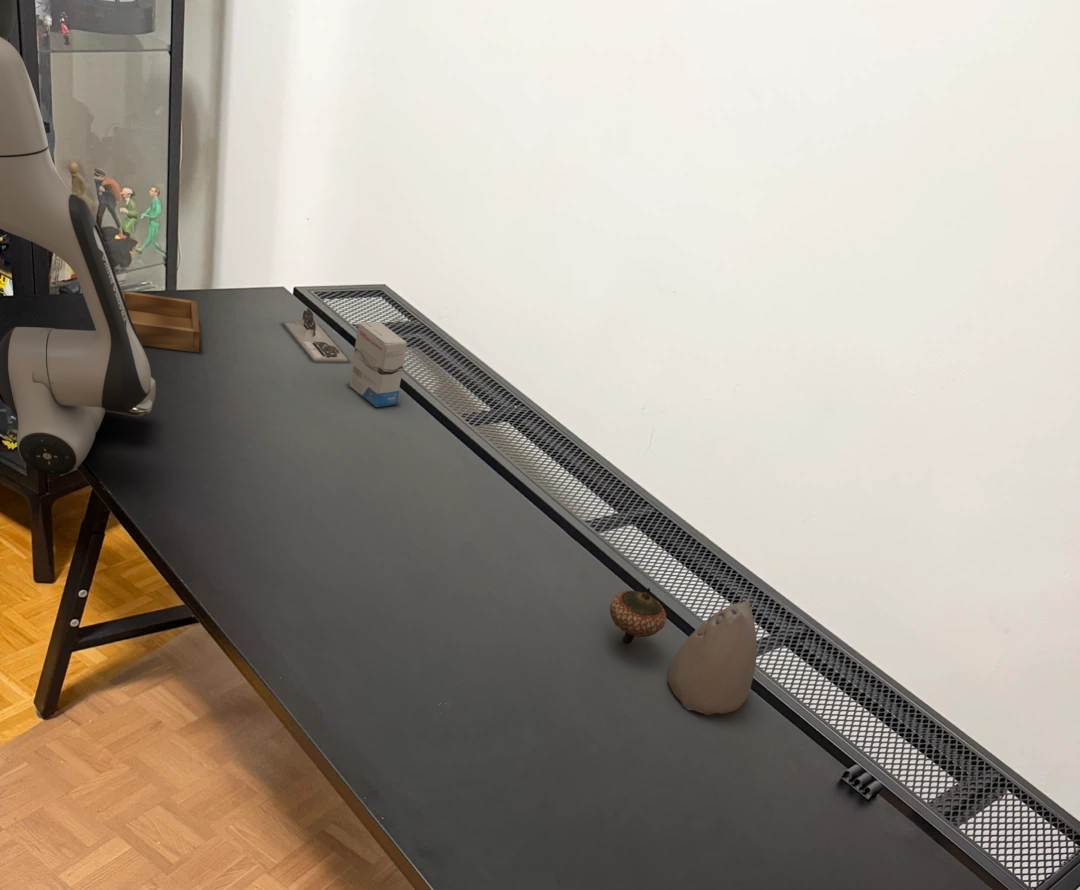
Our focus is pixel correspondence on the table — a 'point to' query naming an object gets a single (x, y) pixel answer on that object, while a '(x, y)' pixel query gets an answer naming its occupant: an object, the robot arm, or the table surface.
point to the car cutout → (315, 340)
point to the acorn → (637, 614)
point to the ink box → (377, 364)
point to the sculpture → (716, 662)
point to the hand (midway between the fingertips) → (91, 360)
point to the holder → (164, 321)
